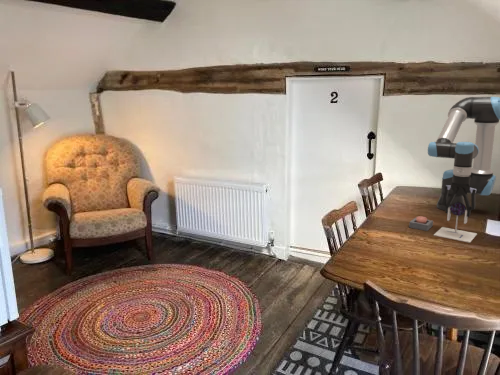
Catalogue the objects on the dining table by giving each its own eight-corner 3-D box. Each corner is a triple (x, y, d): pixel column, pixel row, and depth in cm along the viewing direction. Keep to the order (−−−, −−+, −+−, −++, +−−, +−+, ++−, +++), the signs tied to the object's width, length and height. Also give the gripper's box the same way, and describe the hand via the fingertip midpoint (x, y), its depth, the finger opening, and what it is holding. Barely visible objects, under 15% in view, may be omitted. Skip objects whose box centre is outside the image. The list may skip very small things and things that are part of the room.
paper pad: (442, 227, 206) (442, 226, 206) (476, 234, 196) (477, 233, 196) (433, 235, 196) (433, 234, 196) (470, 242, 186) (470, 241, 186)
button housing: (415, 222, 214) (415, 217, 214) (432, 226, 209) (433, 220, 208) (409, 227, 208) (409, 221, 207) (427, 231, 202) (427, 225, 201)
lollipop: (465, 234, 192) (468, 204, 188) (450, 234, 193) (453, 204, 189) (461, 229, 198) (464, 200, 195) (446, 229, 199) (449, 200, 196)
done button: (417, 221, 211) (418, 215, 210) (427, 222, 208) (428, 217, 207) (414, 223, 207) (415, 218, 207) (424, 225, 204) (425, 219, 203)
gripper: (437, 174, 192) (433, 219, 198) (483, 179, 180) (477, 227, 185) (441, 171, 198) (437, 215, 203) (487, 176, 185) (481, 223, 191)
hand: (456, 221), depth 194 cm, fingers closed on lollipop, 7 cm apart
